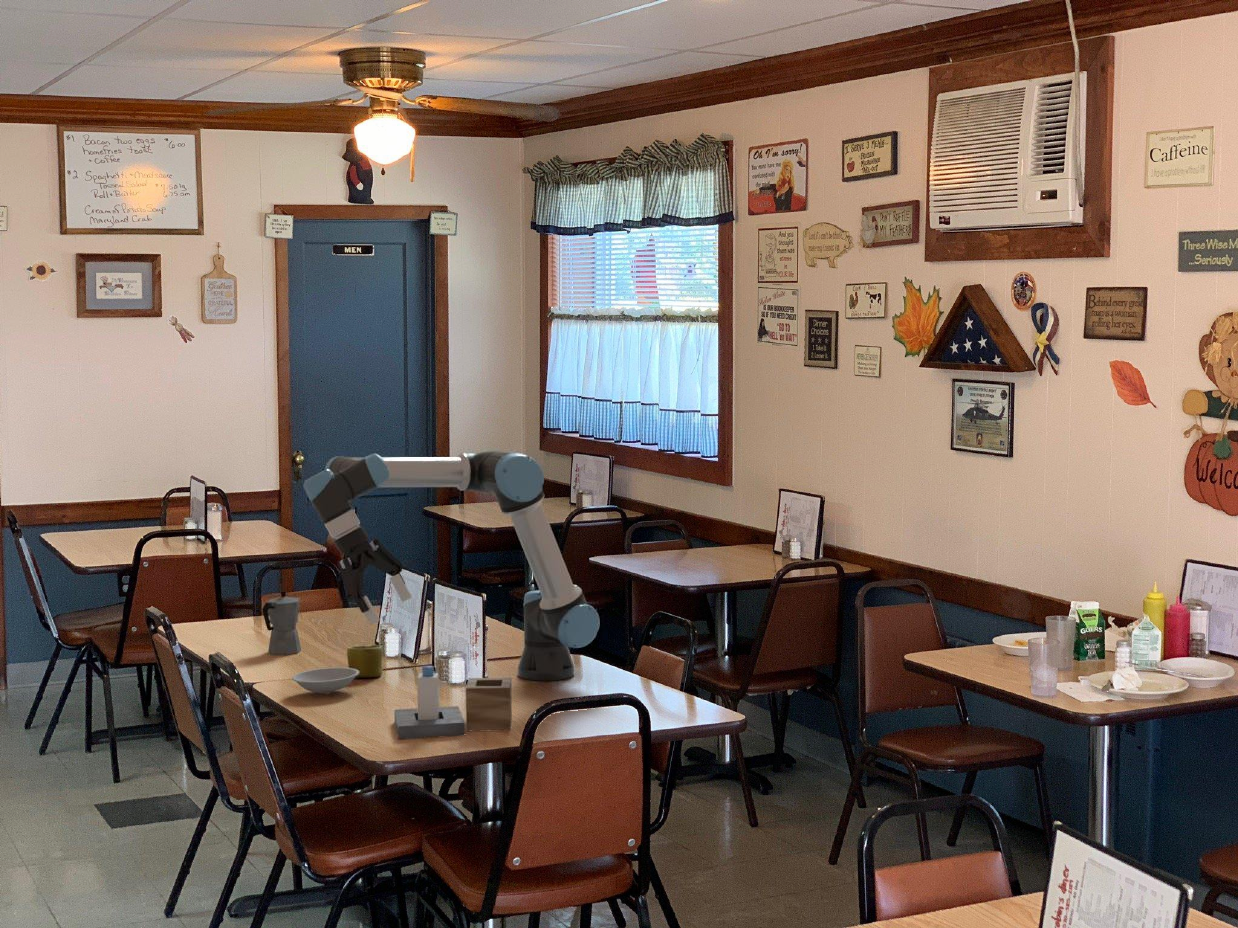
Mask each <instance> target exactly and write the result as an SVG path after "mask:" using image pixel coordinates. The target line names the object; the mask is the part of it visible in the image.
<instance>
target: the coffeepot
mask: <svg viewBox="0 0 1238 928" xmlns="http://www.w3.org/2000/svg"><path fill="white" fill-rule="evenodd" d="M286 594H287V591H286V590H280V595H281V596H278V597H274V598H271V599H269V600H267V601H266V602H265V603H264V605H263V607H262V615H263V619H264V622H265V623H264V624H265V626H266V628H267V629H266V630H267V631H271V632H270V638H269V644H268V651H267V652H268V654H270V655H273V656H288V655H290V656H291V655H295V654H296V655H297V654H298V653H300V652H301V651H302V648H301V642H300V637H299V632H298V629H297V623H298V622H299V621H298V620H299V613H300V605H301V598H300V597H291V596H287V595H286Z"/></svg>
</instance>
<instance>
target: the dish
mask: <svg viewBox="0 0 1238 928" xmlns="http://www.w3.org/2000/svg"><path fill="white" fill-rule="evenodd" d="M358 674H359V671H358V670H356V669H353V668H349V667H322V668H314V669H309V670H304V671H302V672H298V673H296V674H295V673H294V674H293V675H292V676H291V680H292V681H294V682H296V683H297V684H298V685H299V686H300V687H301V688H303V689H304V690H306V691H308V692H313V693H322V695H329V694H331V692H335V691H339V690H341V689H344V688H345V687H348V685H349V684H350V683H351V682H352V681H353V680H354V679H356V678H355V676H357V675H358Z"/></svg>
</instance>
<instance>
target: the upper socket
mask: <svg viewBox="0 0 1238 928" xmlns="http://www.w3.org/2000/svg"><path fill="white" fill-rule="evenodd" d="M512 700H513V699H512V677H469V678H468V681H467V684H466V688H465V705H466V706H465V709H466V711H465V712H466V713H465V716H466V717H465V718H466V722H465V727H466V728H465V732H471V731H470V730H510V731H511V728H510V727H511V726H512V721H511V720H512V719H513V718H512V717H513V716H512V715H513V714H512V713H513V711H512V710H513V709H512V707H513V705H512Z"/></svg>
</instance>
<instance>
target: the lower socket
mask: <svg viewBox="0 0 1238 928" xmlns="http://www.w3.org/2000/svg"><path fill="white" fill-rule="evenodd" d="M394 725H395V730H396V736H397V735H398V736H397V739H398V740H407V739H406V738H414V739H425V738H424V737H431V738H440V737H439V736H447V737H460V735H464V734H465V735H466V728H465V727H466V722H465V720H464V717H463V715H462V712H461V710H460V707H459V705H457V706H456V705H455V706H454V705H453V706H439V719H430V720H418V707H417V708H403V709H402V708H400V709H399V708H398V709H394ZM465 735H464V736H465Z"/></svg>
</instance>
